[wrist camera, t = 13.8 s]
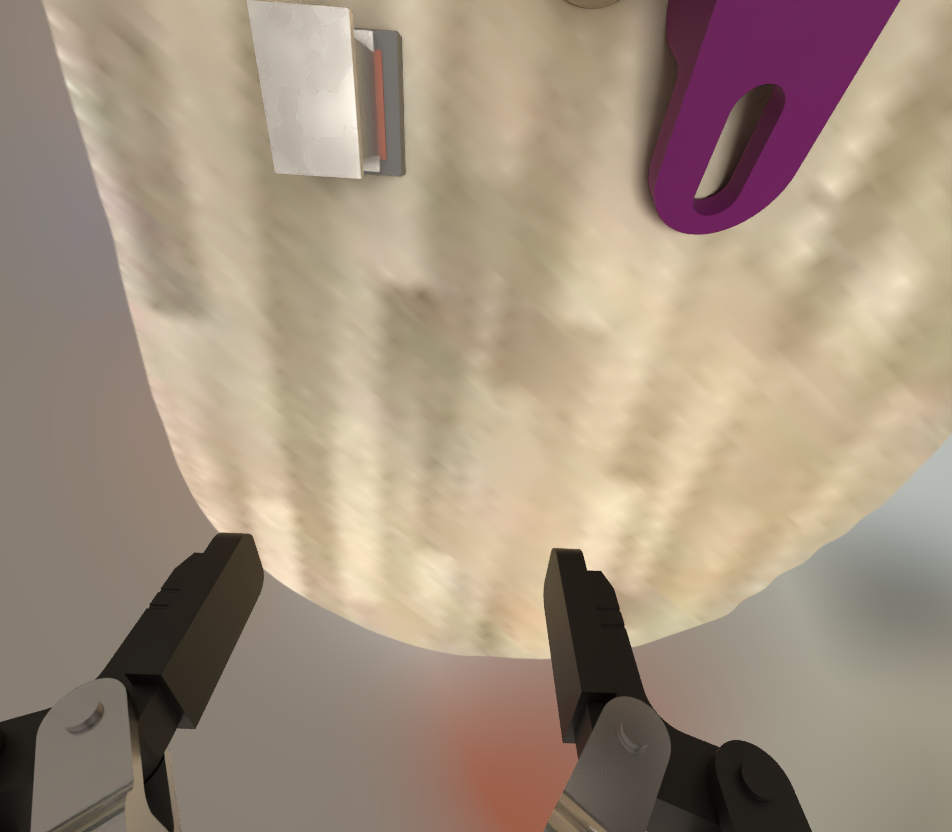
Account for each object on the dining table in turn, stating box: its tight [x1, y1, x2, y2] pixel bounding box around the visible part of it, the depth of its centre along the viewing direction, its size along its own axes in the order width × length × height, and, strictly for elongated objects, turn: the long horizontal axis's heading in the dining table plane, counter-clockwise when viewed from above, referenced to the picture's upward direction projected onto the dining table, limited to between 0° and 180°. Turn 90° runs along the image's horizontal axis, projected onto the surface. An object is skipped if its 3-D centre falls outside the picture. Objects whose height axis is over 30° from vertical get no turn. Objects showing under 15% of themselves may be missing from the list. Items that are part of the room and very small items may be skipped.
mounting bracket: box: [648, 0, 900, 235], centre depth 29 cm, size 9×8×18 cm
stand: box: [354, 28, 405, 176], centre depth 30 cm, size 8×8×2 cm
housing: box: [247, 0, 382, 179], centre depth 27 cm, size 8×5×7 cm, turn 177°
